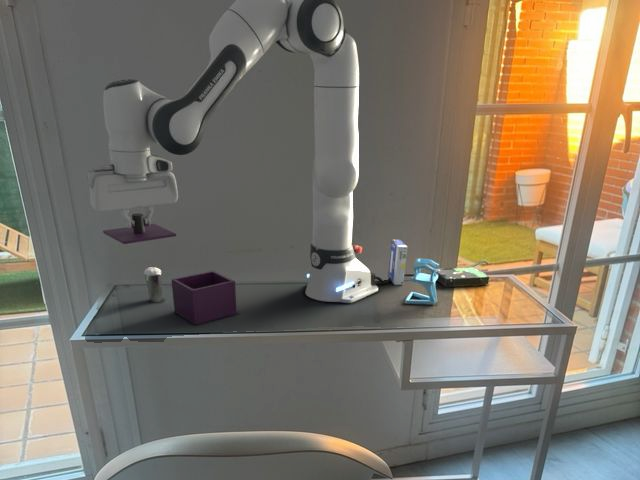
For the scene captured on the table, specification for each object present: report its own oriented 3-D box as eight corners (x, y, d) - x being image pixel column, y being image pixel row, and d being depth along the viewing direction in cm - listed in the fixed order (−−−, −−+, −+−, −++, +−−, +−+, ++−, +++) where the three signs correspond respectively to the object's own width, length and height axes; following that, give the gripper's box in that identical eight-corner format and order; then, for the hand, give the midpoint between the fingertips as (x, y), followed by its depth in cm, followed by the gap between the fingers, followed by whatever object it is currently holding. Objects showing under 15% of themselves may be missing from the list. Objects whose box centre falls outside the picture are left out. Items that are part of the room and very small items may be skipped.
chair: (433, 307, 166) (439, 265, 159) (404, 303, 168) (409, 261, 162) (438, 299, 172) (444, 258, 165) (410, 294, 174) (415, 254, 168)
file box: (215, 302, 164) (213, 270, 159) (236, 313, 157) (235, 281, 152) (174, 312, 157) (171, 279, 152) (195, 324, 150) (192, 290, 145)
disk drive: (445, 288, 181) (488, 284, 184) (446, 279, 179) (490, 276, 183) (431, 277, 189) (473, 274, 193) (432, 268, 188) (474, 265, 191)
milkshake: (163, 304, 161) (159, 268, 155) (144, 302, 162) (140, 266, 156) (169, 298, 165) (166, 263, 159) (152, 296, 165) (147, 261, 160)
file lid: (154, 226, 147) (152, 206, 145) (176, 236, 140) (174, 216, 138) (103, 233, 140) (100, 213, 137) (123, 244, 133) (121, 223, 130)
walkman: (387, 276, 188) (391, 238, 181) (396, 276, 188) (400, 238, 182) (394, 285, 181) (398, 245, 175) (403, 284, 182) (407, 245, 175)
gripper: (91, 169, 124) (101, 235, 131) (178, 162, 135) (183, 224, 143) (79, 164, 128) (90, 229, 135) (165, 158, 139) (170, 218, 147)
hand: (138, 226), depth 139 cm, fingers closed on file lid, 2 cm apart
